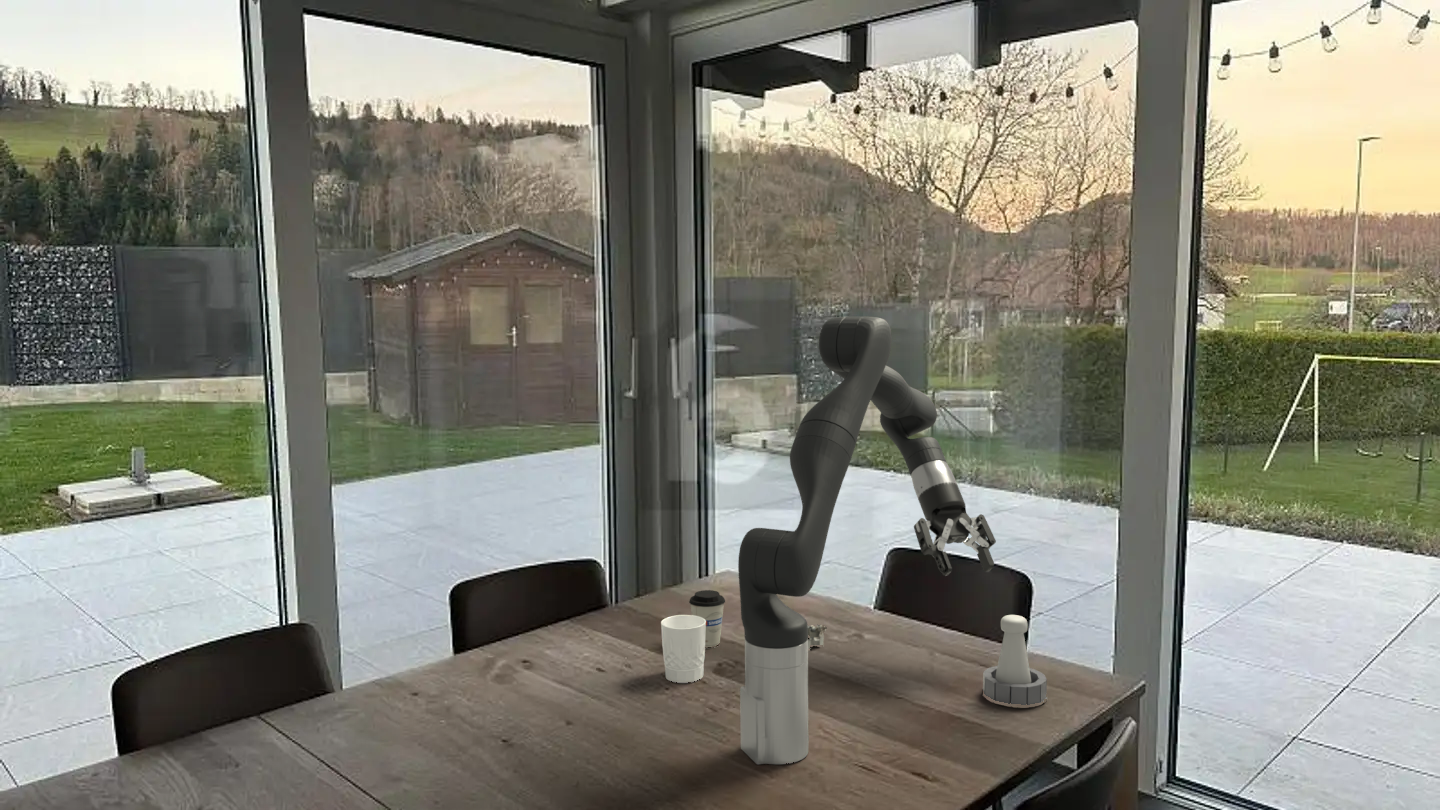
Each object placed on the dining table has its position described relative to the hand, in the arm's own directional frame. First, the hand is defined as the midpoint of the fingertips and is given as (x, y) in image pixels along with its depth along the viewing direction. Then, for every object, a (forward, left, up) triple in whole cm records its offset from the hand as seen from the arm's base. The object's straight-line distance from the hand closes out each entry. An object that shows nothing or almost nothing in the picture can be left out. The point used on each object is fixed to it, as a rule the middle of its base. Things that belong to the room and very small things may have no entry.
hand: (969, 571), depth 182 cm
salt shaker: (+1, -11, -18) cm, 21 cm away
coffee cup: (-36, +34, -19) cm, 53 cm away
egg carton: (-20, +27, -19) cm, 39 cm away
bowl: (+1, -11, -18) cm, 22 cm away
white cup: (-46, +20, -19) cm, 53 cm away
